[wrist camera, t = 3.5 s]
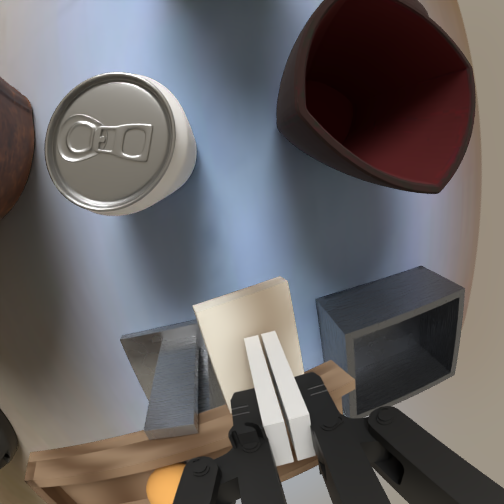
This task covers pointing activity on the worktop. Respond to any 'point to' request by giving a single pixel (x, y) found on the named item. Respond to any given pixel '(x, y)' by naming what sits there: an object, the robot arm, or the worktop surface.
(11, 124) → the case
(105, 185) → the can
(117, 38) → the worktop surface
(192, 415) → the stand
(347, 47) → the cup
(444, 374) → the tin
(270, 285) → the lever
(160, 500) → the ball
